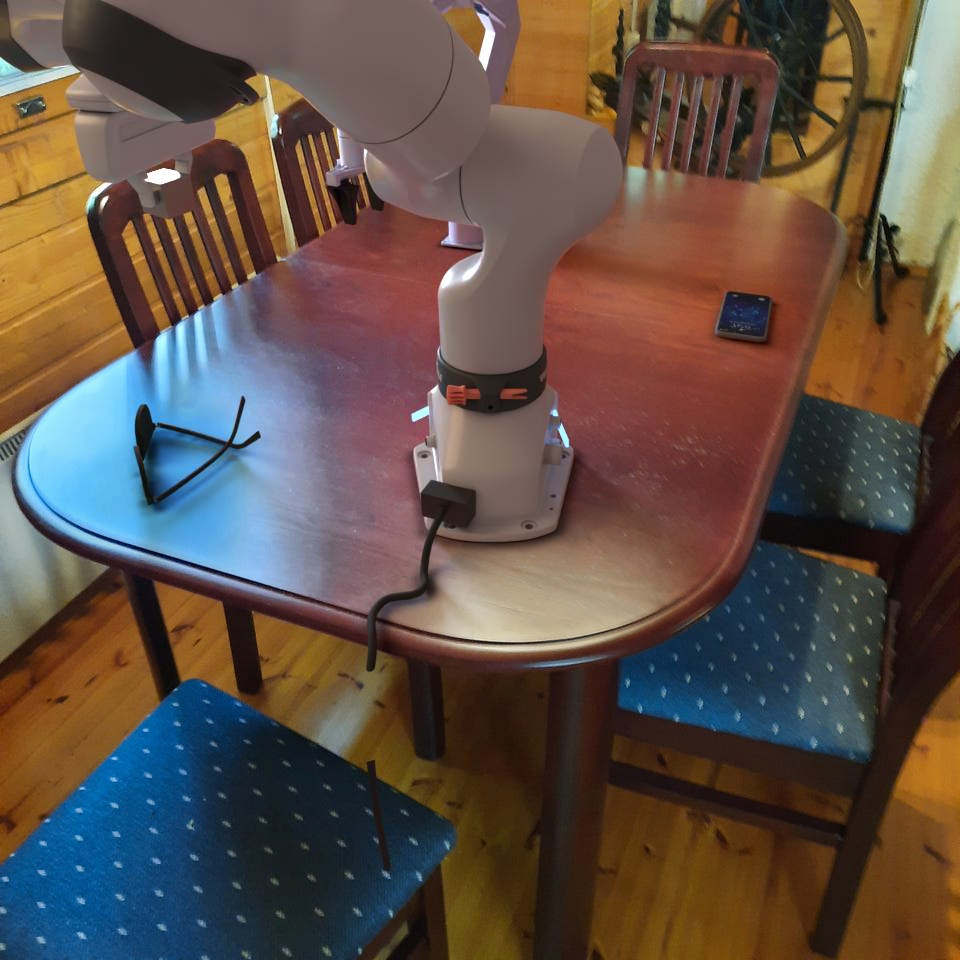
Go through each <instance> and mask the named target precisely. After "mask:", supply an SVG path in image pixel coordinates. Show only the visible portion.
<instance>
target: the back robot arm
mask: <svg viewBox="0 0 960 960" xmlns="http://www.w3.org/2000/svg"><path fill="white" fill-rule="evenodd" d="M430 1H431V2H432V3H433V5H434V6H435V7H436V8H437V9H438V10H439V11H440V13H441V14H442V15H443V16H444V14H445V13H447V12H449V11H450V10H451V9H455V8H458V9H459V8H464V9H465V8H472V9H473V10H474V11H475V13H476V14H477V16H478V18H479V21H480V22H481V24H482V25H483V27H484V30H485V32H484V36H483V41H482V44H481V48H480V52H479V56H478V59H479V60H480V61H481V63H482V65H483V67H484V68H485V71H486V74H487V77H488V81H489V86H490V95H491V103H494V104H499V105H501V103H502V99H503V95H504V91H505V88H506V84H507V81H508V77H509V73H510V70H511V66H512V63H513V59H514V58H513V57H514V55H515V52H516V47H517V43H518V40H519V37H520V33H521V27H522V22H521V16H520V9H519V8H520V7H519V3H518V2H519V1H518V0H430ZM336 131H337V140H338V147H339V155H340V158H338V159H336V165H335V166H334V167H333V168H332V169H331V170H329V171H327V172H326V173H325V176H326V181H325V189H327V191H328V192H329V193H330V195H331V196H332V198H333V200H334V201H335V203H336V205H337V207H338V210H339V212H340V215H341V218H342V220H343V222H344V224H345V225H349V226H356V225H357V221H358V214H357V213H358V210H357V209H358V208H357V205H358V203H357V202H358V195H359V194H358V193H359V190H360V188H361V187H360V184H354V183H352V181H350V179H352V178H355V177H357V176H359V175H361V174H362V175H363V178H364V181H365V184H366V188H367V194H368V200H369V205H370V208H371V210H372V211H378V212H382V211H384V210H385V209H384V207H385V203H386V202H385V201H383V200H382V199H380V198H379V197H378V196H377V195H376V193H375V192H374V190H373V189H372V187H371V185H370V182H369V180H368V177H367V174H366V170H365V164H364V148H362V147H361V146H360V145H359V144H357V143H356V142H355V141H353V140H352V139H351V138H349V137H348V136H347V135H345V134H344V133H343V132H341V131H340V130H339V129H338V128H336ZM447 222H448V221H447ZM483 244H484V236H483V231H482V229H481V228H480V227H477V226H471V225H465V224H460V223H454V222H448V235H447V236H446V237H445V238H444V239H442V241H440V245H441V246H446V247H452V248H453V247H454V248H463V249H470V250H471V249H472V250H479V251H483Z"/></svg>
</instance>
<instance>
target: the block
mask: <svg viewBox="0 0 960 960" xmlns="http://www.w3.org/2000/svg"><path fill="white" fill-rule="evenodd" d="M147 174H148V179H145V180H146V182H147V183H148V185H149V186H150V188H151V189H154V190H157V192H158V196H159V197H158V198H159V201H160V203H159V204H158V205H156V206H154V207H152V208H148V207H143V206H142V205H141V208H142V212H143V213H145V214H148V215H151V216H155V217H159V218H162V219H165V220H173V219H174V218H177V217H180V216H183V215H186V214H188V213H191V212H193V211H197V210H198V206H197V202H196V198H195V193H194V188H193V184H192V179H191V174H190V175H188V174H184V173H180V172H176V171H175V170H172V169H168V168H161V169H158V170H155V171H152V172H149V173H148V172H147Z"/></svg>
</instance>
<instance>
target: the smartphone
mask: <svg viewBox="0 0 960 960" xmlns="http://www.w3.org/2000/svg"><path fill="white" fill-rule="evenodd" d="M773 302H774V301H773V298H772V297H771V296H769V295H763V294H756V293H749V292H743V291H734V290H729V291H726V292H725V293H724V295H723V299H722V301H721V306H720V310H719V312H718V317H717V319H716V322H715V328H714V334H715V335H716V336H717V337H718V338H719V337H720V338H725V339H732V340H739V341H747V342H754V343H764V342H765V341H767V338H768V333H769V328H770V318H771V313H772V307H773Z"/></svg>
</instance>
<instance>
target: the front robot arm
mask: <svg viewBox="0 0 960 960" xmlns="http://www.w3.org/2000/svg"><path fill="white" fill-rule="evenodd" d="M0 58H1V59H2V60H3V61H4V62H6V63H8V64H9V65H10V66H12V67H13V68H15V69H17V70H19V71H20V72H22V73H24V74H29V73H35V72H41V71H47V70H53V69H55V68H63V67H64V68H65V67H73V68H75V70H77V71H79V72H80V73H82V74H81V75H80V76H79V77H78V78H77V79H76V80H74V81H73V82H72V83H71V84H70V85H69V86H68V87H67V88H66V89H65V98H66V102H67V104H68V106H69V108H70V109H72V110H73V109H74V110H78V111H77V112H76V113H75V115H74V119H73V127H74V128H73V129H74V134H75V138H76V143H77V146H78V151H79V154H80V158H81V161H82V164H83V167H84V169H85V172H86V173H87V175H88V176H89V177H90V178H91V179H92V180H93V181H95V182H98V183H105V184H118V183H121V182H122V181H123V182H124V181H127V183H129V184H130V186H131V187H132V188H133V189H134V191H135V192H136V193H137V194H138V198H139V201H140V205H141V207H142V206H143V207H148V208H152V207H154V206H156V205H158V204H159V203H160V201H159V198H158V197H159V196H158V192H157V190H154V189H151V188H150V186H149V185H148V183H147V182H146V180H145V179H148V170H150V169H153V167H156V166H158V165H161V164H164V163H165V162H168V161H170V160H173V161H175V165H174V171H176V172H180V173H184V174H188V175H190V176H191V172H192V167H193V161H194V158H193V153H192V151H193V150H194V149H196V148H199V147H201V146H204V145H206V144H208V143H210V142H213V141H214V140H215V138H216V134H217V133H216V132H217V125H216V122H215V119H217V118H219V117H221V116H223V115H224V114H226V113H227V112H229V111H230V110H231V109H232V108H234V107H236V106H237V105H238V104H241V105H244V106H249V107H250V106H251V107H252V106H254V105H255V104H256V103H257V102H258V101H259V100H260V98H261V97H260V95H259V93H258V92H257V90H256V89H255V88H254V87H252V86H251V84H249V83H248V82H246V81H247V80H250V79H251V78H254V77H257V76H258V75H262V76H266V77H268V78H271V79H273V80H276V81H278V82H281V83H282V84H284V85H286V86H287V87H289V89H292V90H293V91H295V93H296V94H298V95H299V96H301V97H302V98H303V99H304V100H305V101H306V102H307V103H308V104H309V105H311V106H312V108H314V109H315V110H316V111H317V112H318V113H319V114H320V115H321V116H322V117H323V118H325V120H326V121H328V122H329V123H330V124H331V125H333V126H334V127H335V128H336V129H337V128H338V129H339V130H340V131H341V132H343V133H344V134H345V135H347V136H348V137H349V138H351V139H352V140H353V141H355V142H356V143H357V144H359V145H360V146H361V147H362V148H364V164H365V170H366V174H367V177H368V180H369V182H370V185H371V187H372V189H373V190H374V192H375V193H376V195H377V196H378V197H379V198H380V199H382V200H383V201H385V202H384V203H387V204H390V205H392V206H394V207H397V208H399V209H401V210H404V211H406V212H408V213H412V214H414V215H416V216H419V217H421V218H426V219H432V220H437V221H443V222H454V223H460V224H465V225H471V226H477V227H480V228H481V229H482V231H483V236H484V244H483V249H482V250H481V251H479V252H477V253H473V254H472V255H469V256H467V257H465V258H463V259H461V260H459V261H458V262H455V263H454V264H453V265H452V266H451V267H450V268H449V269H448V270H447V271H446V273H445V274H444V275H443V277H442V278H441V279H442V280H441V281H440V284H439V287H438V290H437V307H438V324H439V326H438V327H439V342H440V343H439V344H440V345H439V346H438V348H437V354H436V356H437V358H436V363H435V364H436V376H437V384H436V385H435V387H434V386H433V388H432V389H431V390H430V391H428V392H427V406H424V407H423V408H421V409H419V410H417V411H415V412H413V413H411V421H412V422H416V421H418V420H420V419H423V418H424V417H426V416H428V424H429V435H426V436H425V438H424V442H422V443H419V444H417V445H416V446H415V447H414V448H413V454H412V455H413V457H412V458H413V464H414V470H415V475H416V476H415V477H416V480H417V487H418V492H419V498H420V499H419V500H420V506H421V516H422V517H423V522H424V526H425V529H426V530H427V531H428V532H427V534H426V537H425V540H424V543H423V547H422V553H421V559H420V566H419V579H420V585H419V586H418V587H417V588H414V589H412V590H409V591H407V590H406V591H400V592H399V591H398V592H392V593H388V594H385V595H383V596H381V597H380V598H379V599H378V600H377V601H376V602H375V603H374V604H373V605H372V606H371V608H370V610H369V612H368V615H367V618H366V631H367V655H366V656H367V657H366V665H365V670H366V672H368V673H372V672H373V671H375V669H376V664H377V657H378V656H377V655H378V636H377V633H378V632H377V617H378V614H379V613H380V612H381V611H382V610H383V608H384V607H385V606H387V605H388V604H390V603H394V602H401V601H409V600H414V599H418V598H419V597H421V596H423V595H424V594H425V593H426V592H427V591H428V589H429V586H430V579H429V566H430V559H431V552H432V548H433V544H434V541H435V538H436V535H437V536H440V537H443V538H448V539H452V540H457V541H466V542H477V543H478V542H480V543H500V542H501V543H502V542H503V543H506V542H518V541H527V540H531V539H536V538H539V537H543V536H546V535H548V534H550V533H552V532H554V531H556V530H557V527H558V525H559V520H560V518H561V517H560V516H561V512H562V508H563V504H564V500H565V497H566V492H567V488H568V483H569V480H570V476H571V472H572V469H573V468H572V467H573V464H574V459H575V450H574V447H573V446H571V445H570V439H569V438H568V435H567V433H566V430H565V428H564V426H563V424H562V416H559V392H557V391H556V390H555V389H554V388H553V387H552V386H551V385H550V384H549V383H548V382H547V379H548V367H549V361H548V356H547V355H548V354H547V353H548V351H547V347H546V345H545V344H544V330H545V329H544V328H545V316H546V303H547V296H548V290H549V286H550V281H551V279H552V276H553V273H554V272H555V269H556V267H557V265H558V264H559V263H560V261H561V259H562V258H563V257H564V255H565V254H566V253H567V252H568V251H569V250H570V249H571V248H572V247H573V246H575V245H576V244H577V243H579V242H580V241H581V240H584V238H586V237H588V236H590V235H591V234H593V233H595V232H596V231H597V230H598V229H599V228H600V227H601V226H602V225H604V223H605V222H606V221H607V220H608V219H609V217H610V215H611V214H612V212H613V210H615V207H616V205H617V202H618V201H619V198H620V194H621V191H622V186H623V178H624V170H623V168H624V167H623V160H622V155H621V152H620V148H619V146H618V144H617V142H616V140H615V138H614V136H613V135H612V133H611V131H610V130H609V129H608V128H607V127H606V126H603V125H601V124H598V123H596V122H593V121H590V120H587V119H585V118H582V117H579V116H576V115H573V114H570V113H567V112H565V111H561V110H553V109H545V108H534V107H526V106H516V105H506V104H500V105H499V104H494V103H491V95H490V86H489V81H488V77H487V74H486V71H485V68H484V67H483V65H482V63H481V61H480V60H479V56H477V55H476V54H475V52H474V51H473V50H472V49H471V47H470V46H469V45H468V44H467V43H466V42H465V40H464V39H463V38H462V37H461V35H460V34H459V33H458V32H457V31H456V30H455V29H454V26H452V24H450V22H449V21H448V19H446V17H445V16H444V14H443V15H442V14H441V13H440V11H439V10H438V9H437V8H436V7H435V6H434V5H433V3H432V2H431V1H430V0H0ZM558 433H559V434H560V437H561V439H562V441H561V439H560V438H558ZM366 770H367V772H366V773H367V781H368V788H369V795H370V802H371V809H372V814H373V821H374V825H375V831H376V836H377V842H378V848H379V852H380V858H381V862H382V868H383V867H384V868H383V871H384V870H386V871H389V870H390V869H391V870H392V865H391V859H390V854H389V849H388V848H389V847H388V842H387V838H386V831H385V827H384V820H383V815H382V814H383V813H382V808H381V802H380V801H381V800H380V794H379V785H378V778H377V777H378V776H377V768H376V759H372V760H367V761H366Z"/></svg>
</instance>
